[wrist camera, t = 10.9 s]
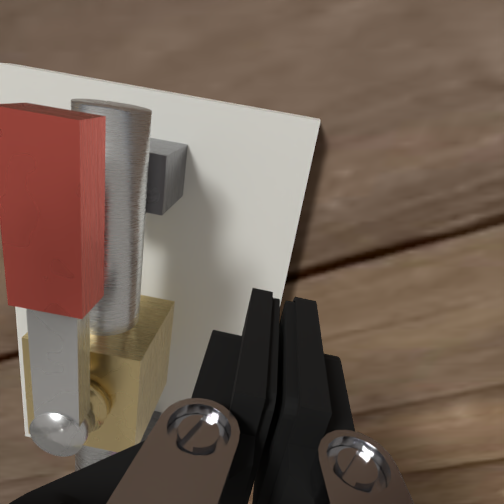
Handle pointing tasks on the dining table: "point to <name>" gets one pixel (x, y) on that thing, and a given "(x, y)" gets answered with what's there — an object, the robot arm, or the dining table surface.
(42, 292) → the valve lever
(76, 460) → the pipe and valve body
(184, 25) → the dining table surface
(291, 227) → the valve board
